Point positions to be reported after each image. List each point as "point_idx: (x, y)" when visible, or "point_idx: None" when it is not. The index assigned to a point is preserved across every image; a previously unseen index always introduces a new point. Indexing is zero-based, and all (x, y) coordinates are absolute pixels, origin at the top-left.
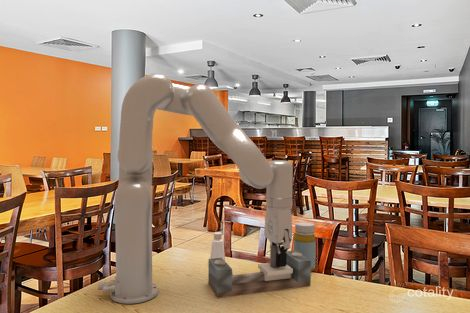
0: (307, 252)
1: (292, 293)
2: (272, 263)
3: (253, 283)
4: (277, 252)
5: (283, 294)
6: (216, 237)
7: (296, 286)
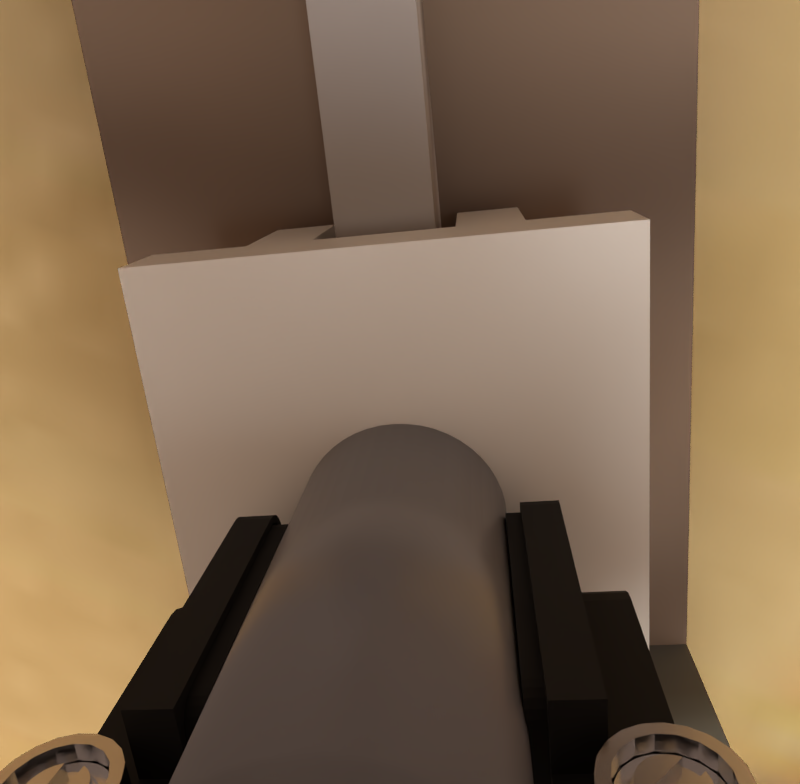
0: None
1: (74, 493)
2: (318, 481)
3: (252, 3)
4: (104, 761)
5: (50, 381)
6: None
7: None
